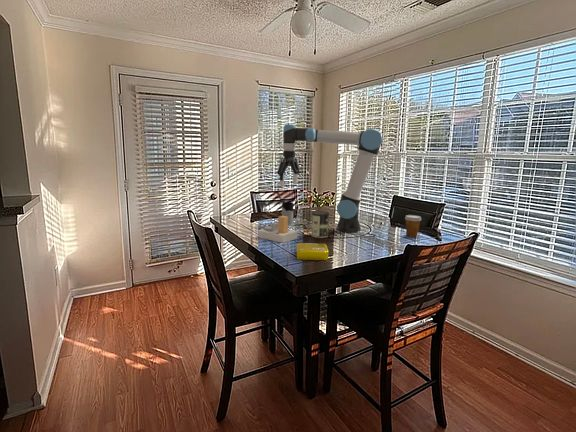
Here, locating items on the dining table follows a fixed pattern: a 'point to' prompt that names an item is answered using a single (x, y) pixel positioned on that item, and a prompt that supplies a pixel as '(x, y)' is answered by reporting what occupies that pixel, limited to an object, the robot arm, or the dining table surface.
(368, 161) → the robot arm
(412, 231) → the disposable coffee cup
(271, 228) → the shutter
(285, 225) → the plug
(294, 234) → the socket plate
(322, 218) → the coffee can
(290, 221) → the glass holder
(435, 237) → the dining table surface
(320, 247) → the element tile
